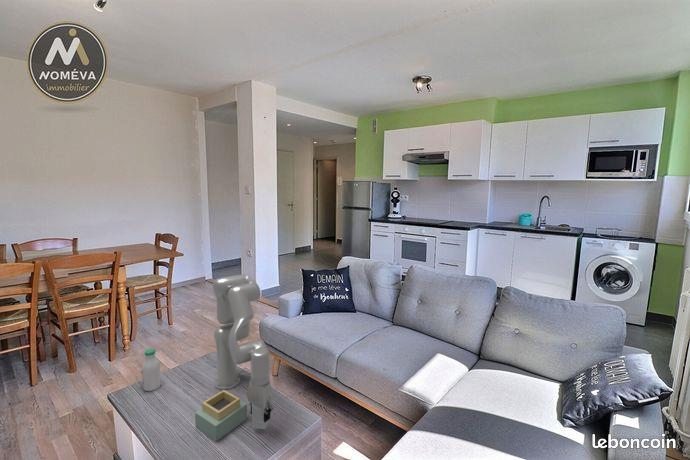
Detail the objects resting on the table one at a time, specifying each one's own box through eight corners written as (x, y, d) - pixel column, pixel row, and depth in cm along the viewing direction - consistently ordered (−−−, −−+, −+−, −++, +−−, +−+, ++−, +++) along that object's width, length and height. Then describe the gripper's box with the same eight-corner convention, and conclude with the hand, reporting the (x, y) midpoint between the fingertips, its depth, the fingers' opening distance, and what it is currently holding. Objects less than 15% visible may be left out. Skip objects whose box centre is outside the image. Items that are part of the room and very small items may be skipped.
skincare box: (269, 422, 140) (269, 397, 138) (265, 429, 136) (265, 404, 134) (255, 420, 141) (255, 395, 139) (251, 428, 136) (251, 402, 134)
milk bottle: (164, 384, 168) (162, 348, 165) (151, 393, 161) (148, 355, 158) (153, 381, 170) (150, 345, 167) (139, 389, 163) (137, 352, 160)
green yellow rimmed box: (226, 406, 153) (226, 385, 151) (247, 418, 145) (246, 396, 144) (195, 427, 139) (194, 404, 138) (216, 441, 132) (215, 418, 131)
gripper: (238, 375, 136) (239, 413, 139) (268, 390, 127) (268, 431, 130) (252, 366, 142) (253, 403, 145) (282, 381, 133) (281, 419, 136)
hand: (260, 416), depth 137 cm, fingers closed on skincare box, 7 cm apart
